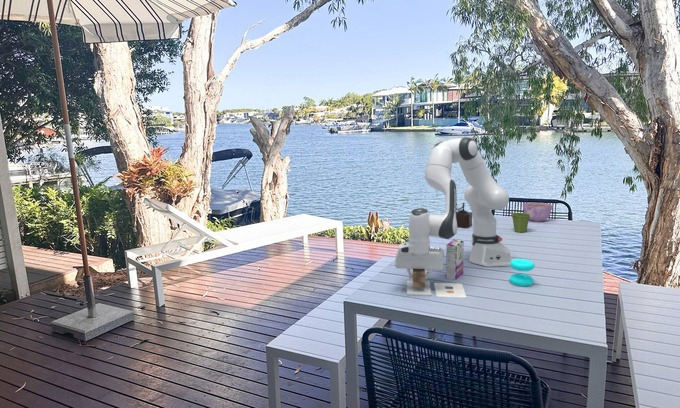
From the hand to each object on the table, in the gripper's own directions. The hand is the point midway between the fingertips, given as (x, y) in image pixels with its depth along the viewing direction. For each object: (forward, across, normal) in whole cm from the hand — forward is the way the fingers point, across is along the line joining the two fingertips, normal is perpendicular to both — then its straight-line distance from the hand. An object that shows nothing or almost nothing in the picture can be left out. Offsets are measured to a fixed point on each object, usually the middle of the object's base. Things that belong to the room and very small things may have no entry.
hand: (418, 278), depth 190 cm
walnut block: (+2, 0, 0) cm, 2 cm away
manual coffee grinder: (+5, -32, -121) cm, 125 cm away
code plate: (+5, -13, 0) cm, 14 cm away
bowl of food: (+5, -87, -144) cm, 169 cm away
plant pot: (+5, -68, -110) cm, 129 cm away
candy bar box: (+5, -17, -19) cm, 26 cm away
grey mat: (+5, 0, 0) cm, 5 cm away
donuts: (+5, -45, -12) cm, 47 cm away
